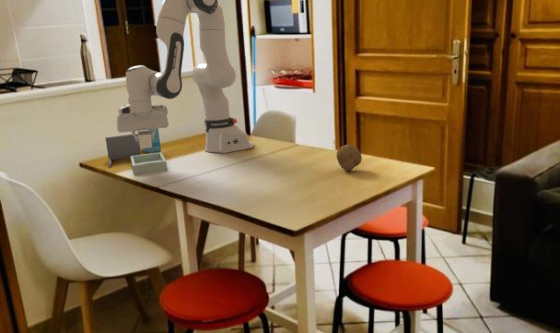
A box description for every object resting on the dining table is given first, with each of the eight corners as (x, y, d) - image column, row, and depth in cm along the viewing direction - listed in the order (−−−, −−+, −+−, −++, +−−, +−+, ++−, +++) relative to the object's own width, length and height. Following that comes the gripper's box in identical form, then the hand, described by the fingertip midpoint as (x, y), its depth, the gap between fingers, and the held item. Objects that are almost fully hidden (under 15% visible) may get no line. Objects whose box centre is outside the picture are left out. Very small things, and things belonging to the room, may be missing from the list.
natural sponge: (353, 166, 197) (352, 140, 195) (366, 171, 189) (366, 144, 187) (332, 170, 194) (331, 144, 191) (345, 175, 186) (344, 148, 183)
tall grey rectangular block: (150, 142, 217) (148, 128, 216) (152, 147, 209) (150, 132, 207) (139, 144, 216) (137, 130, 214) (140, 148, 208) (138, 133, 206)
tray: (162, 160, 225) (161, 152, 224) (167, 169, 209) (166, 161, 208) (131, 164, 221) (130, 156, 220) (134, 174, 205) (132, 165, 204)
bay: (141, 155, 235) (137, 132, 232) (143, 162, 223) (140, 138, 220) (108, 159, 231) (105, 136, 228) (109, 167, 219) (105, 142, 216)
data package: (161, 152, 239) (158, 126, 236) (152, 154, 236) (149, 128, 233) (149, 148, 248) (146, 123, 245) (141, 150, 245) (137, 125, 242)
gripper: (165, 103, 214) (169, 136, 218) (114, 108, 208) (119, 142, 212) (167, 105, 208) (171, 139, 212) (114, 110, 202) (119, 145, 206)
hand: (144, 140), depth 212 cm, fingers closed on tall grey rectangular block, 4 cm apart
